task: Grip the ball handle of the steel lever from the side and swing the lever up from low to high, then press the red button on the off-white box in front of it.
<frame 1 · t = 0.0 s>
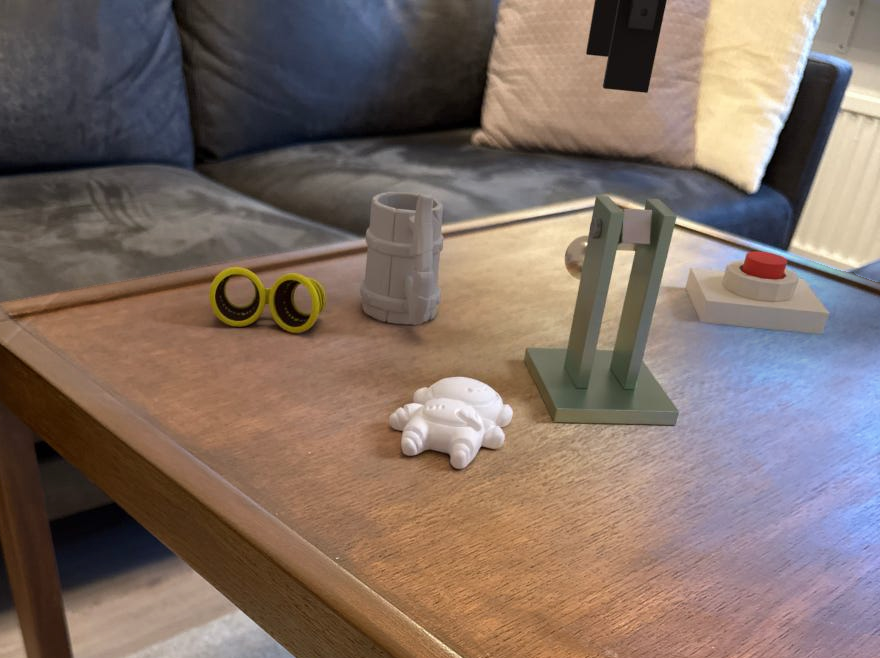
hand: (614, 72, 66), 23 cm above the table, tool pointing down, fingers open, 13 cm apart
button: (764, 266, 98), point 4 cm above the table, slide at 0.1 cm
mug: (404, 320, 92), on the table
opera glasses: (269, 323, 89), on the table
lever: (605, 245, 80), point 10 cm above the table, hinge at -28.0°
bracket: (596, 391, 82), on the table
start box: (750, 310, 101), on the table
astronaut figurine: (449, 433, 75), on the table
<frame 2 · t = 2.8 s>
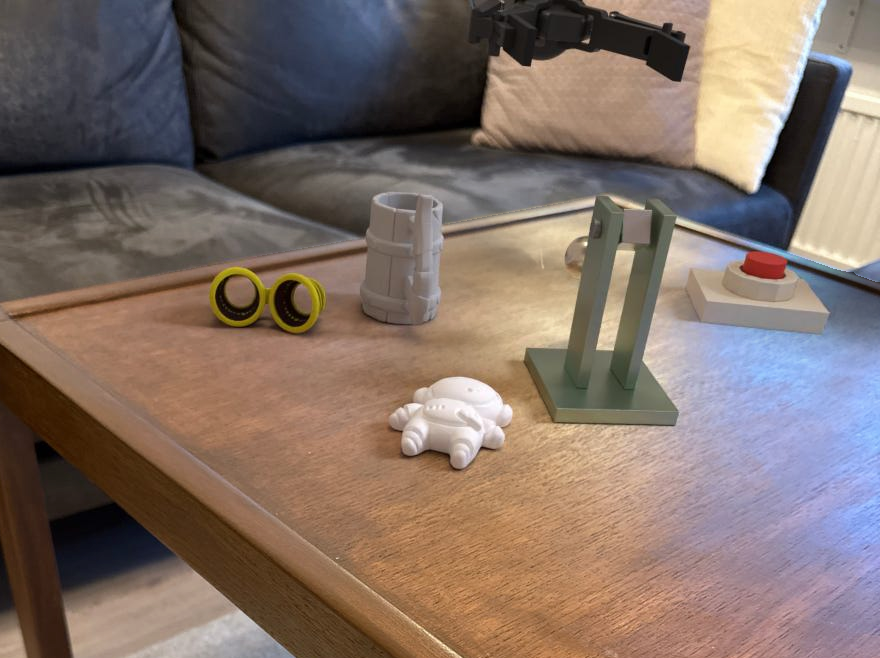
hand: (607, 56, 82), 22 cm above the table, tool horizontal, fingers open, 13 cm apart
nothing on the table moved.
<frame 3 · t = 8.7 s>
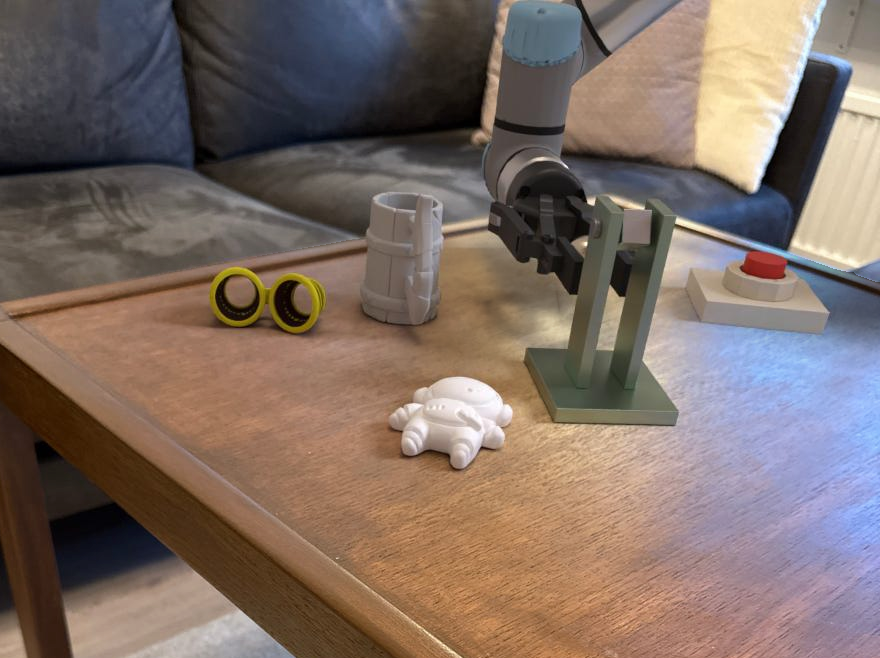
hand: (601, 279, 81), 8 cm above the table, tool horizontal, fingers closed on lever, 4 cm apart
lever: (605, 245, 80), point 10 cm above the table, hinge at -28.0°, touching gripper
everything else where it was.
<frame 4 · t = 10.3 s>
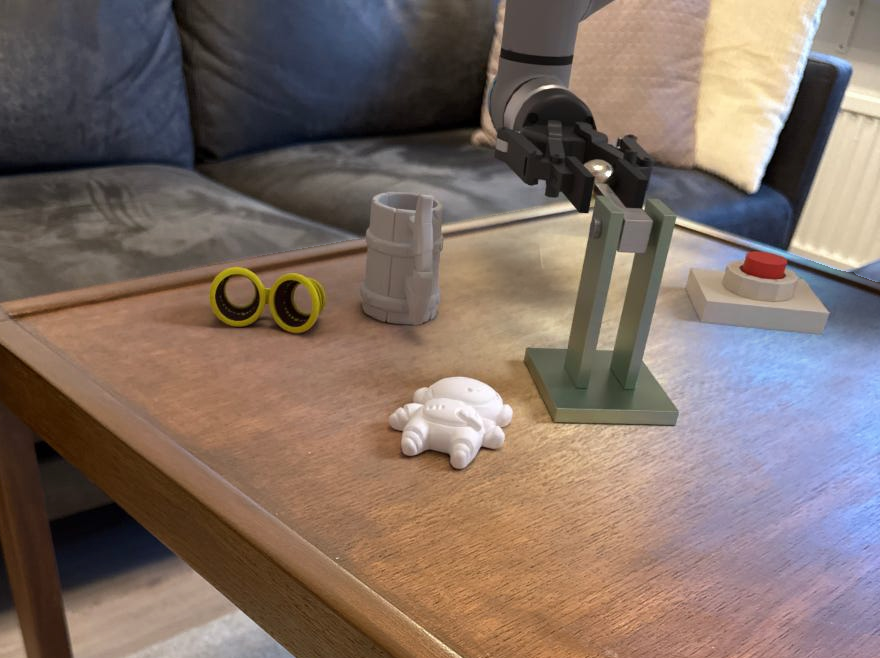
hand: (613, 196, 78), 14 cm above the table, tool horizontal, fingers closed on lever, 4 cm apart
lever: (611, 204, 78), point 13 cm above the table, hinge at 3.0°, touching gripper
everything else where it was.
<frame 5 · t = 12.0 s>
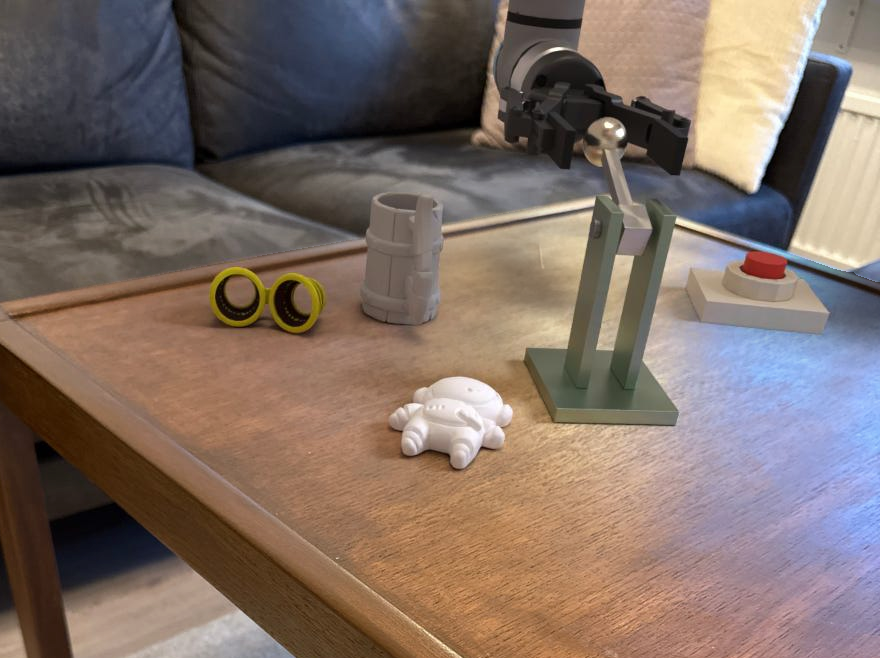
hand: (624, 153, 75), 17 cm above the table, tool horizontal, fingers open, 8 cm apart
lever: (616, 183, 77), point 15 cm above the table, hinge at 20.6°
everything else where it was.
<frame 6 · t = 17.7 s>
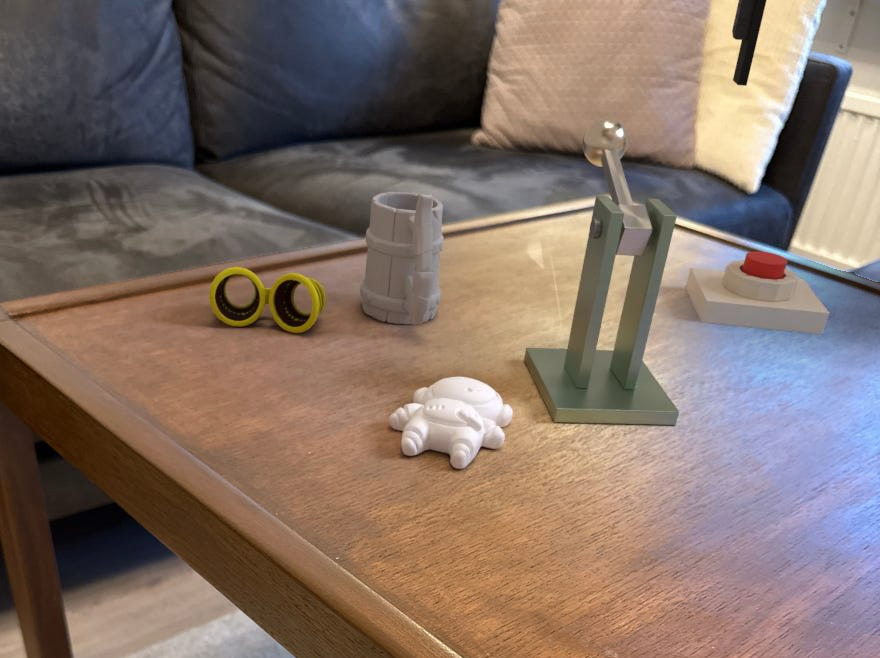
hand: (815, 89, 88), 20 cm above the table, tool pointing down, fingers open, 13 cm apart
nothing on the table moved.
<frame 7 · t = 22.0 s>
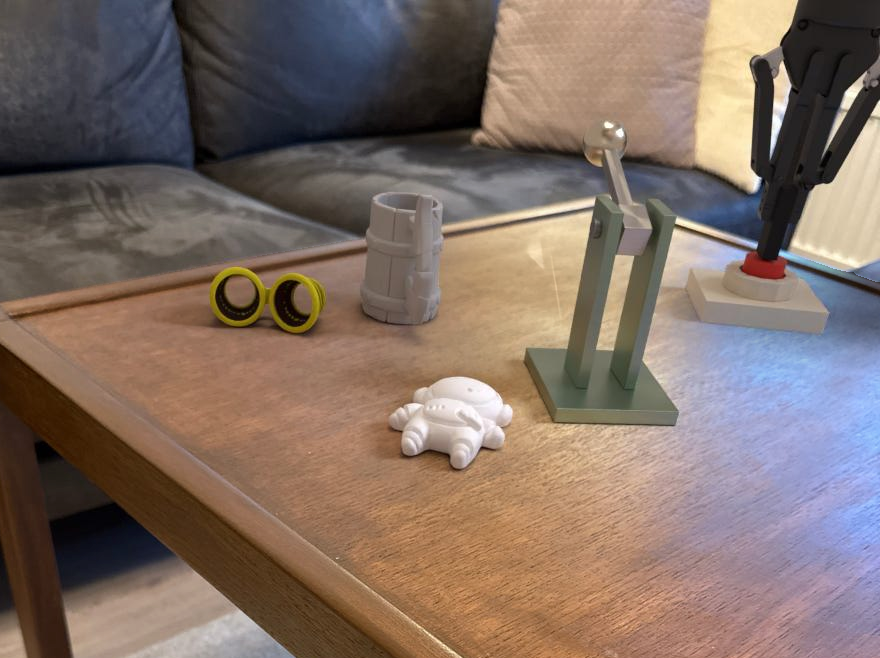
hand: (766, 255, 97), 6 cm above the table, tool pointing down, fingers closed
button: (764, 266, 98), point 4 cm above the table, slide at 0.0 cm, touching gripper
everything else where it was.
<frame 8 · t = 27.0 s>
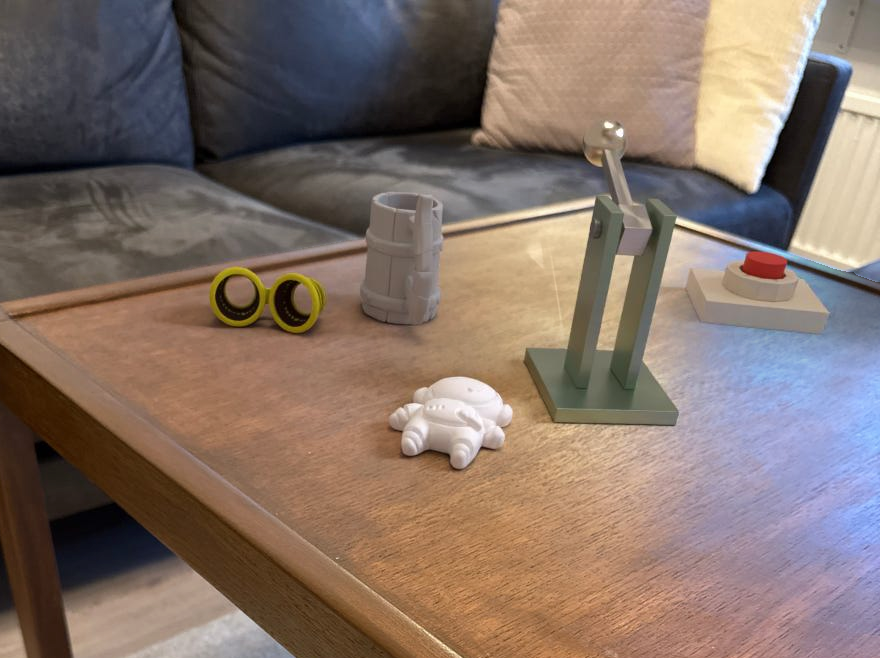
button: (764, 266, 98), point 4 cm above the table, slide at 0.1 cm
everything else where it was.
at the end: lever at +21° (first picture: -28°); button pushed in 1.0 cm at the most during the clip, back to where it started at the end; button slide at 0.1 cm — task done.
